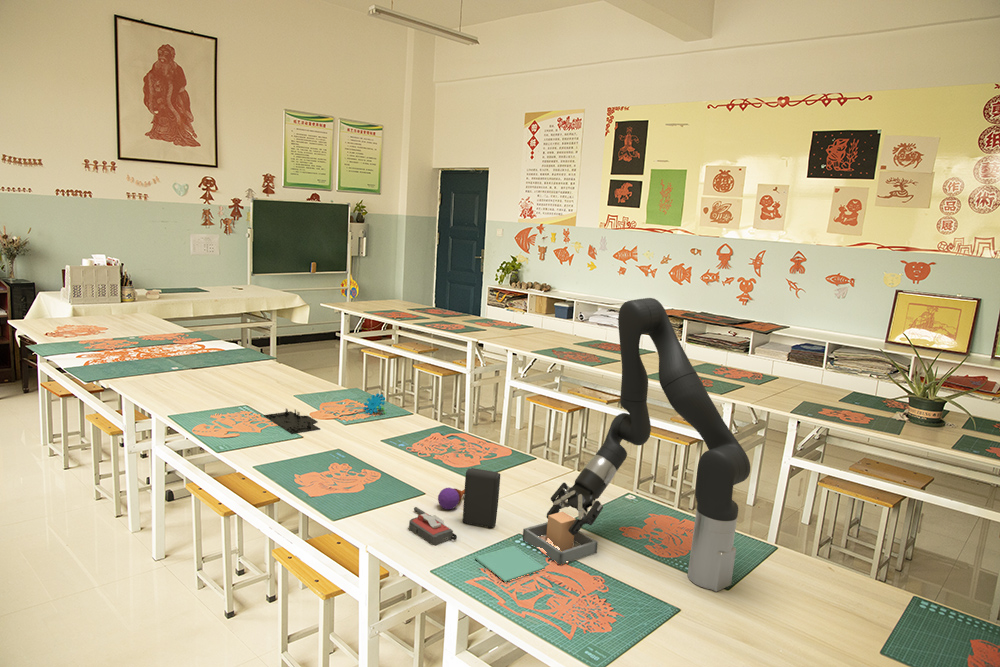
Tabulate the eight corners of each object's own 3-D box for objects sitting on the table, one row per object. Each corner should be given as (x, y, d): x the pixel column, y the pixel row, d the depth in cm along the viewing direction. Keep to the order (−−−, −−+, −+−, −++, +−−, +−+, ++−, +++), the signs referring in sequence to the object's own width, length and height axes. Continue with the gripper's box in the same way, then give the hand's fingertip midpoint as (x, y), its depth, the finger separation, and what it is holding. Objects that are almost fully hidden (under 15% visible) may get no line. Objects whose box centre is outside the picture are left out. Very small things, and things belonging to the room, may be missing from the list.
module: (572, 548, 165) (575, 519, 164) (558, 552, 162) (561, 523, 161) (559, 539, 169) (562, 511, 168) (545, 544, 166) (548, 515, 165)
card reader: (497, 523, 176) (502, 471, 173) (494, 529, 172) (498, 476, 169) (465, 517, 178) (469, 466, 175) (461, 523, 174) (465, 471, 171)
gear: (358, 406, 268) (375, 388, 271) (365, 414, 272) (382, 396, 275) (372, 417, 260) (389, 398, 263) (380, 424, 264) (396, 406, 267)
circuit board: (263, 417, 251) (263, 409, 250) (298, 412, 261) (298, 404, 260) (291, 435, 233) (292, 427, 232) (328, 429, 243) (328, 421, 242)
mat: (544, 569, 154) (545, 567, 154) (505, 583, 146) (505, 580, 146) (513, 547, 163) (513, 545, 163) (475, 559, 156) (475, 557, 156)
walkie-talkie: (463, 540, 166) (417, 511, 180) (464, 524, 165) (418, 496, 179) (436, 550, 160) (391, 519, 174) (437, 533, 159) (392, 504, 173)
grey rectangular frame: (596, 552, 164) (597, 541, 163) (560, 565, 156) (561, 553, 156) (558, 529, 175) (559, 518, 175) (522, 539, 168) (523, 528, 167)
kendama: (491, 480, 195) (453, 496, 178) (486, 498, 196) (447, 515, 179) (476, 472, 198) (437, 486, 181) (470, 489, 199) (431, 505, 182)
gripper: (571, 459, 173) (534, 507, 168) (609, 478, 162) (572, 530, 157) (583, 474, 177) (548, 522, 172) (621, 494, 166) (585, 545, 161)
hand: (559, 526), depth 165 cm, fingers open, 8 cm apart
